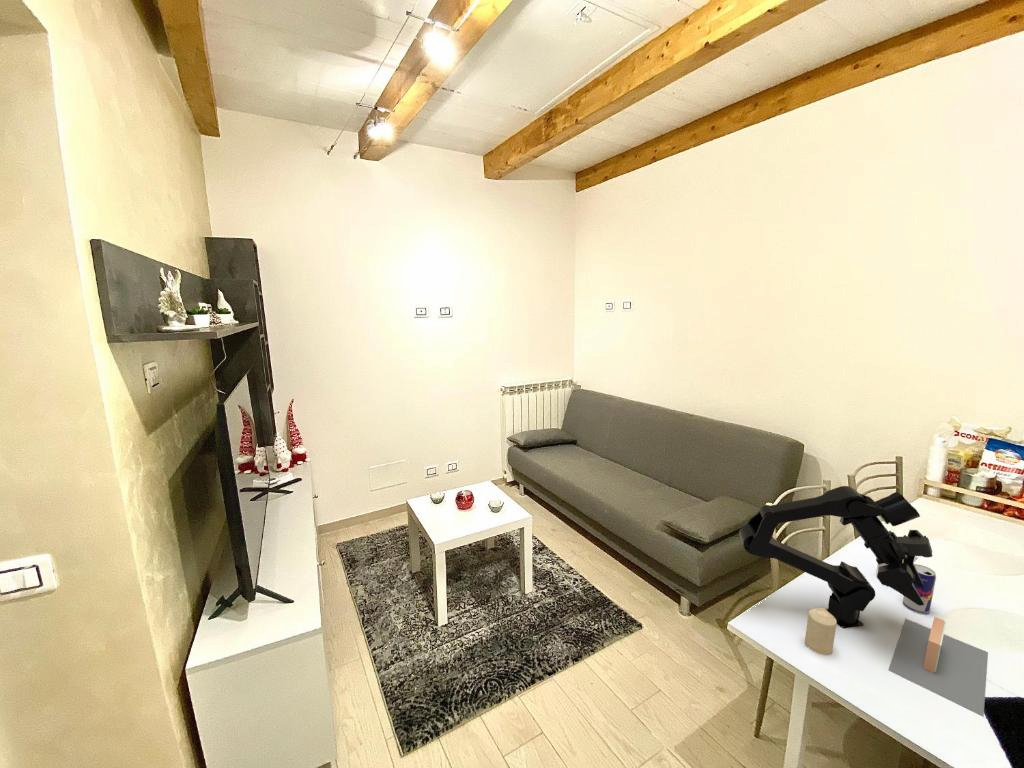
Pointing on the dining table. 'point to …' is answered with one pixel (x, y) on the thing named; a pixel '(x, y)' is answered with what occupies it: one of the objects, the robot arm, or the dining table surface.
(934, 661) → the tile
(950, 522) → the dining table surface
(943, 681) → the mat
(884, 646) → the dining table surface
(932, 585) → the energy drink
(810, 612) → the candle
